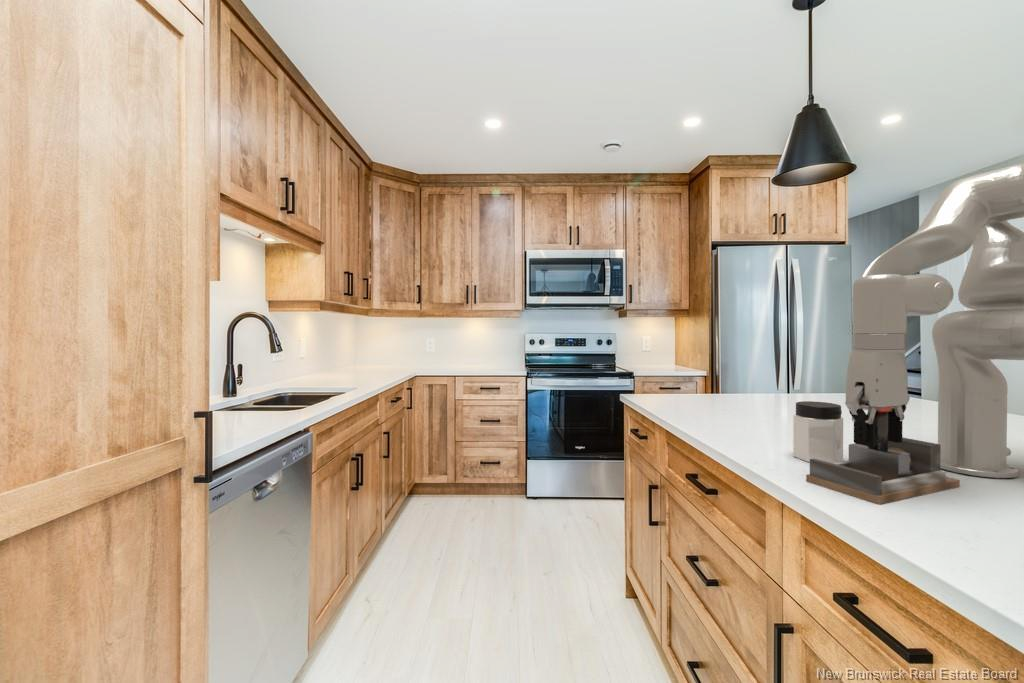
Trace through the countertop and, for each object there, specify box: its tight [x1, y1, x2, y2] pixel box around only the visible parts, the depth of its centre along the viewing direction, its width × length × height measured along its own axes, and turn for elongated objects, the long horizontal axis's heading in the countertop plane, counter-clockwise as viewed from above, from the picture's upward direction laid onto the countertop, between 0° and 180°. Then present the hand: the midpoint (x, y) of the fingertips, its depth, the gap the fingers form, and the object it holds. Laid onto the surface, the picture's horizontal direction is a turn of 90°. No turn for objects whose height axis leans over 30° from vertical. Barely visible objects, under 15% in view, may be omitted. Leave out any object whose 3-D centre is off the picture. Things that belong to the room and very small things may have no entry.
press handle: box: [848, 403, 910, 481], centre depth 79 cm, size 4×8×13 cm, turn 20°
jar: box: [792, 400, 844, 463], centre depth 95 cm, size 9×8×12 cm
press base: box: [805, 436, 961, 505], centre depth 80 cm, size 22×12×7 cm, turn 110°
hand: (877, 442), depth 79 cm, fingers open, 6 cm apart
